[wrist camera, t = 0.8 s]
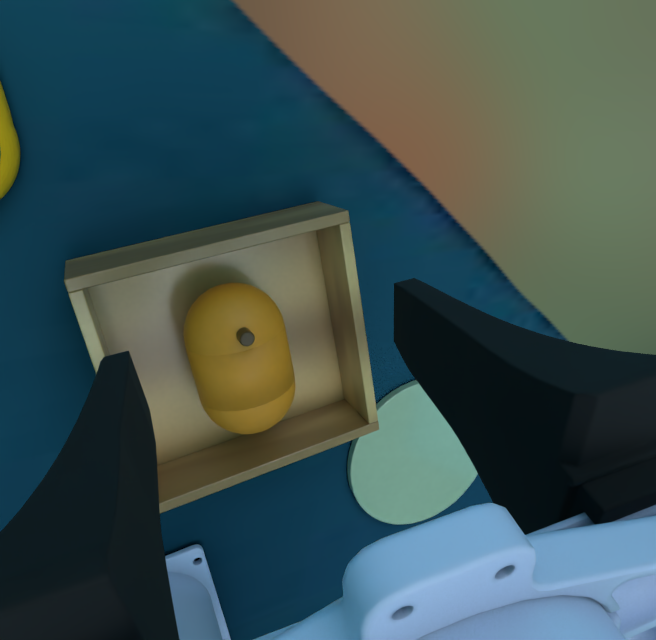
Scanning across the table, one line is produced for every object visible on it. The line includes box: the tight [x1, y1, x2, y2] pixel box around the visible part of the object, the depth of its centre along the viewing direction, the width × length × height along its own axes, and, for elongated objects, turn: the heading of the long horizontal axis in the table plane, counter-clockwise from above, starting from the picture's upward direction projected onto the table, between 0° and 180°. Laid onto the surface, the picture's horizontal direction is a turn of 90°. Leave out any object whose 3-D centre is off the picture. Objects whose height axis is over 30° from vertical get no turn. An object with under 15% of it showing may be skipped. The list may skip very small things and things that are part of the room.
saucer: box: [347, 380, 478, 524], centre depth 39 cm, size 11×11×1 cm
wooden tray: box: [64, 201, 379, 513], centre depth 30 cm, size 13×13×4 cm
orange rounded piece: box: [183, 283, 296, 434], centre depth 29 cm, size 8×5×6 cm, turn 9°
